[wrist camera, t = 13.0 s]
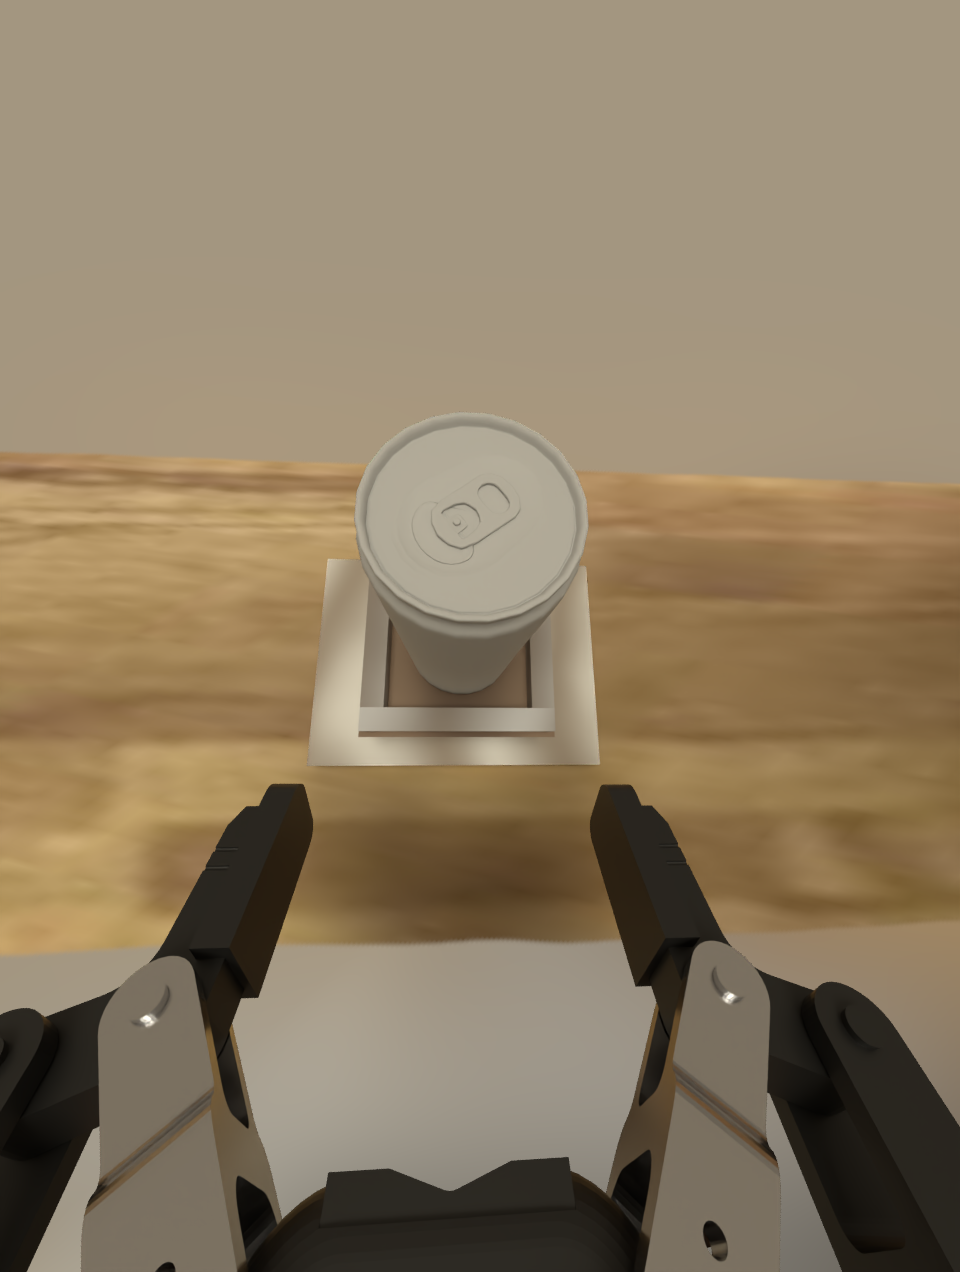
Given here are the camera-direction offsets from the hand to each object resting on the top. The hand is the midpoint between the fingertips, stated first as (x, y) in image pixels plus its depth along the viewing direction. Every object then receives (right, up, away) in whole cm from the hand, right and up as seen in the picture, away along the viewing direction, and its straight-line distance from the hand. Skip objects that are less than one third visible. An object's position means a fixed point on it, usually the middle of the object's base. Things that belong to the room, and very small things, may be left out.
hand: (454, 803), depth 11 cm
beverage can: (0, +4, +9) cm, 9 cm away
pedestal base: (-1, +3, +14) cm, 14 cm away
